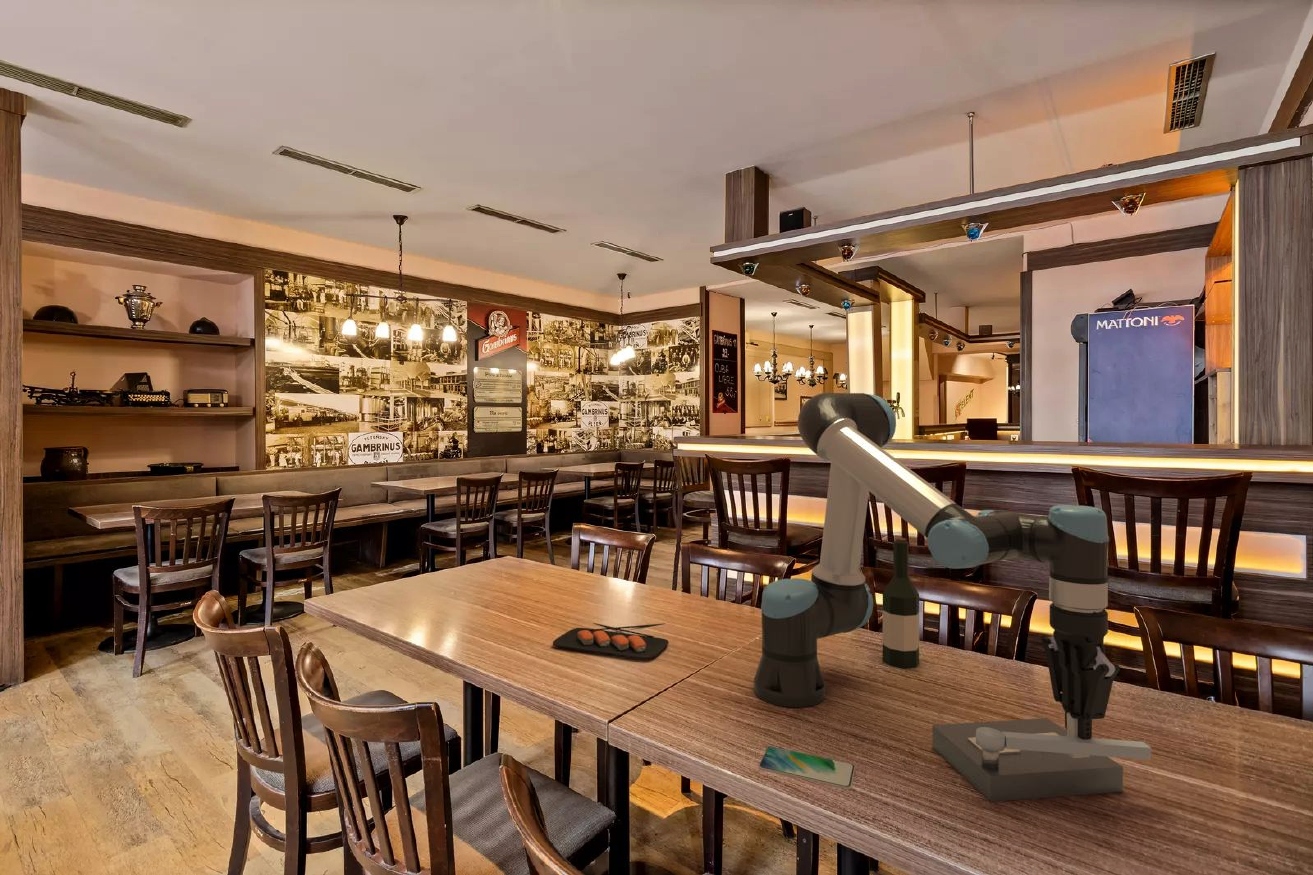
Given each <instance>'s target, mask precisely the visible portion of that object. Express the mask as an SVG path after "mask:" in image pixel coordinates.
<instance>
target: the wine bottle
mask: <svg viewBox="0 0 1313 875" xmlns="http://www.w3.org/2000/svg"><path fill="white" fill-rule="evenodd" d="M892 564H893V565H892V566H893V570H892V571H893V576H892V578H891V580H890V581H889V582H888V584H887V585H886V587H885V588H884V590H883V592H882V662H883V663H885V664H887V665H888V666H889V667H893V668H899V669H903V670H905V669H906V670H907V669H916V668H918V666H919V664H920V593H919V591H917V589H916V587H915V585H914V583H913V582H912V580H911V579H910V577H909V541H907V538H905V537H896V538H895V540H894V541H893V563H892Z"/></svg>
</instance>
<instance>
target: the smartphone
mask: <svg viewBox="0 0 1313 875" xmlns="http://www.w3.org/2000/svg"><path fill="white" fill-rule="evenodd" d="M758 769H759V770H761V771H765V772H769V773H773V774H777V775H781V776H785V777H790V778H795V779H800V780H804V781H806V782H807V781H809V782H813V783H817V784H820V785H827V786H830V787H835V788H839V789H844V790H850V789H852V787H853V782H854V777H855V773H856V772H855V771H856V766H855V764H854V763H851V762H847V761H841V760H836V759H832V758H829V757H823V756H817V755H814V754H809V753H803V752H800V751H794V750H790V749H785V748H781V747H777V746H767V748H766V749H765V752H764V753H763V756H762V758H761V760H760V762H759V764H758Z"/></svg>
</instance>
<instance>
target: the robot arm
mask: <svg viewBox="0 0 1313 875" xmlns="http://www.w3.org/2000/svg"><path fill="white" fill-rule="evenodd" d="M896 421H897V420H896V416H895V412H894V411H893V408H892V407H891V406H890V405H889V402H888V401H886V400H885V398H882V397H881V396H878V395H876V394H869V393H864V392H821V393H819V394H818V393H817V394H816V395H813V396H812V397H811V398H809V399H808V400H807V401H806V402H805V403H803V405H802V407H801V409H800V410H799V413H798V417H797V430H798V432H799V433H798V434H799V435H800V438H801V439H802V441H803V442H804V444H805V445H806V446H807V447H808V448H809V450H811V451H812V452H813V453H814V454H815V455H816V456H818V458H820V459H821V460H824V461H825V462H826V461H827V462H829V461H830V467H829V468H830V469H829V478H828V479H829V480H828V485H827V486H828V487H827V488H828V489H827V497H826V504H825V506H826V507H825V514H824V524H823V530H822V531H823V533H822V541H821V542H822V543H821V550H820V559H819V563H818V564H817V565H815V566H814V567H813V568H812V569H811V575H810V576H811V578H810V579H805V578H797V577H792V578H791V579H790V578H782V579H778V580H774V581H772V582H770V583H768V584H767V585H766V586H765V587H764V589H763V591H762V593H761V596H762V598H761V604H760V609H761V657H760V660H759V661H758V662H759V663H758V666H757V669H756V670H755V671H756V672H755V675H754V678H753V691H754V693H755V695H756V696H757V697H759V698H760V699H762V701H764V702H766V703H767V702H768V703H770V704H773V705H776V706H781V707H787V708H788V707H789V708H804V707H812V706H815V705H817V704H820V703H822V702H823V701H824V700H825V699H826V697H827V696H826V695H827V687H826V685H827V684H826V681H825V678H824V675H823V672H822V669H821V666H820V663H819V660H818V640H819V639H823V638H826V637H831V636H835V635H839V634H847V633H850V632H853V631H855V630H856V629H860V628H862V627H863V626H864V625H865V624H867V623H868V621H869V620H870V618H871V616H872V613H873V610H874V609H873V608H874V599H873V595H872V593H870V592H871V589H870V587H869V585H868V584H867V583H866V576H865V575H864V574H863V573H862V571H861V570H860V569H861V567H860V566H861V559H862V551H863V550H862V549H863V542H864V534H865V526H866V518H867V511H868V510H867V509H868V501H869V494H870V493H871V494H872V495H873V496H875V497H876V498H877V499H878V500H880V501H881V503H883V504H884V505H885V506H887V507H888V508H889V509H890V510H892V511H893V512H894V513H895V514H897V515H898V516H899V517H900V518H901V519H903V520H904V521H905V522H907V523H908V524H909V525H910V526H911V527H912V528H913V529H915V530H916V531H917V532H918V533H920V535H922V536H923V537H924V538H926V539H927V548H928V550H929V552H930V554H931V556H932V559H934V561H935V562H937V563H938V564H939V565H941V566H943V567H945V568H948V569H969V568H970V569H971V568H975V567H977V566H981V565H985V564H989V563H995V562H1001V561H1005V560H1010V559H1022V560H1029V561H1035V562H1039V563H1046V564H1048V567H1049V579H1048V583H1049V586H1048V599H1049V601H1051V603H1050V604H1049V625H1050V627H1051V628H1052V629H1053V632H1052V636H1047V637H1046V636H1045V637H1041V641H1040V642H1041V643H1042V646H1043V648H1044V652H1045V654H1046V655H1045V656H1046V659H1047V660H1046V661H1047V665H1048V672H1049V678H1050V684H1051V690H1052V695H1053V699H1054V701H1056V702H1057V703H1060V704H1061V707H1062V709H1063V710H1064V727H1065V728H1064V729H1065V730H1067V736H1070V737H1079V738H1081V739H1082V740H1084V739H1091V738H1093V720H1103V719H1105V717H1106V713H1107V710H1108V705H1109V699H1110V696H1111V692H1112V687H1113V683H1114V679H1115V677H1116V676H1117V675H1118V673H1120V670H1121V667H1120V665H1119V664H1118V663H1116V662H1114V663H1112V662H1110V660H1109V659H1108V658H1107V656H1106V655H1105V654H1106V648H1105V646H1104V642H1103V639H1104V637H1105V636H1106V635H1107V634H1108V633H1109V613H1108V611H1107V610H1106V608H1107V607H1108V606H1109V605H1108V603H1109V602H1108V595H1109V593H1108V591H1109V590H1108V588H1109V587H1108V586H1109V585H1108V584H1109V583H1108V581H1109V580H1108V579H1109V577H1108V569H1109V568H1108V567H1109V564H1108V563H1109V562H1108V561H1109V559H1108V558H1109V556H1108V555H1109V541H1110V536H1109V532H1108V531H1109V530H1108V520H1107V519H1108V516H1107V514H1106V512H1105V511H1104V510H1102V509H1101V508H1098V507H1094V506H1088V505H1075V504H1074V505H1073V504H1058V505H1053V506H1051V507H1050V509H1049V511H1048V515H1037V514H1036V515H1035V514H1028V513H1022V512H1013V511H1007V510H1003V509H998V510H996V509H983V510H980V511H979V512H977V513H978V514H976V515H973V514H971V513H970V512H969V511H967V510H965V509H964V508H963V507H962V506H960V505H959V504H957V503H956V502H955V501H953V500H952V499H950V498H949V497H948V496H947V495H946V494H944V493H943V492H941V491H940V490H939V489H938V488H936V487H934V485H932V484H930V483H929V482H928V481H926V480H925V479H924V478H922V477H921V476H920V475H918V474H917V473H916V472H915V471H913V470H912V469H910V468H909V467H907V466H906V465H905V464H904V463H902V462H901V461H900V460H898V459H897V458H896V457H894V456H893V455H891V454H890V453H889V452H887V451H886V450H884V449H883V447H884V446H885V445H888V443H889V441H891V440H892V439H893V438H894V435H895V432H896V427H897V422H896ZM869 492H870V493H869ZM1067 754H1068V753H1067ZM1068 755H1070V756H1071V757H1073V758H1083V757H1090V755H1081V754H1068Z"/></svg>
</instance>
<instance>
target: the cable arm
mask: <svg viewBox="0 0 1313 875" xmlns="http://www.w3.org/2000/svg"><path fill="white" fill-rule="evenodd" d="M976 744H977V745H978V746H980V747H981V748H983V749H986V750H989V751H1003V750H1004V749H1005V748H1006V749H1016V750H1029V751H1042V752H1055V753H1068V754H1081V755H1094V756H1107V757H1109V758H1110V757H1111V758H1123V759H1134V760H1135V759H1136V760H1145V761H1146V760H1150V761H1151V759H1152V752H1151V751H1152V747H1150V746H1149V745H1148V744H1146V742H1145V741H1138V740H1137V741H1135V740H1124V739H1123V740H1122V739H1110V738H1108V739H1107V738H1095V737H1091V739H1084V740H1082V739H1081V738H1079V737H1070V736H1056V735H1042V734H1028V733H1014V732H1000V731H998V730H996V729H993V728H988V727H980V728H977V729H976Z"/></svg>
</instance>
